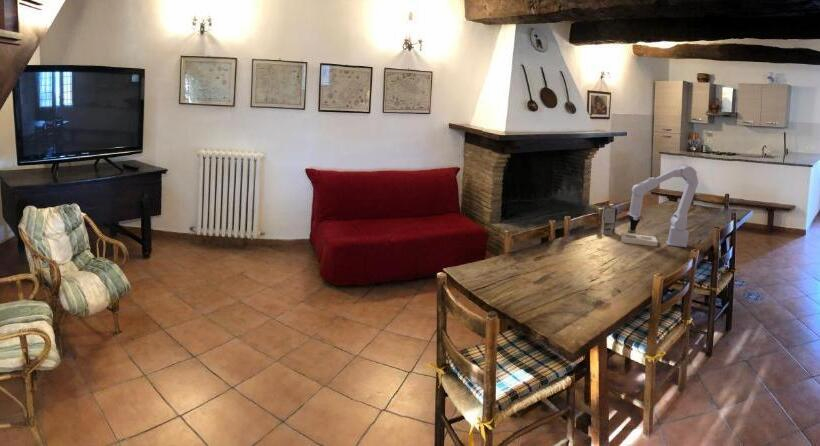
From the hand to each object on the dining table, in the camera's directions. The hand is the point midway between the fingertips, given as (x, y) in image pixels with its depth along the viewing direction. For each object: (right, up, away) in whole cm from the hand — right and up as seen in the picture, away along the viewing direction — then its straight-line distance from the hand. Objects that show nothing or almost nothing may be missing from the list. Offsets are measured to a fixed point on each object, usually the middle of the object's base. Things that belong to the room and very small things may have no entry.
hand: (632, 229), depth 283 cm
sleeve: (0, -2, 0) cm, 2 cm away
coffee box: (-8, -3, +15) cm, 18 cm away
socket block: (+4, -7, +1) cm, 8 cm away
